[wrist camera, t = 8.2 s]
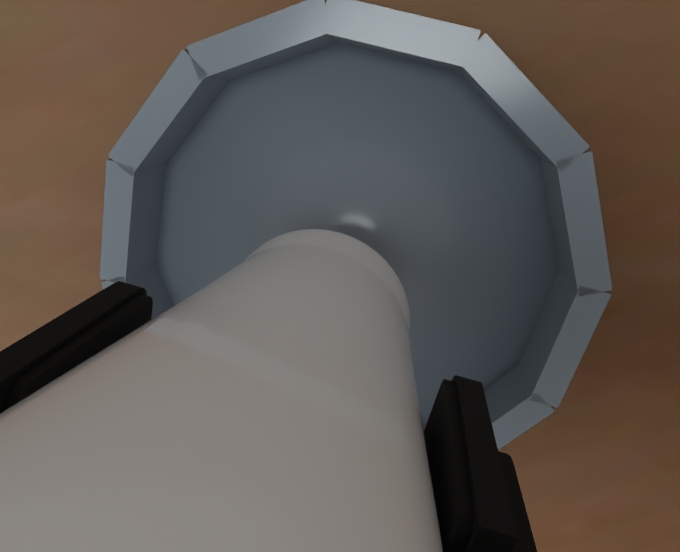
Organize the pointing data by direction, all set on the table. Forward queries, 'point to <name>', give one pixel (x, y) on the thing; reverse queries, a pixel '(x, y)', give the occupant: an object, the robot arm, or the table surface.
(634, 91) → the table surface
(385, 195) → the bowl
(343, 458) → the white cup
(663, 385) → the table surface
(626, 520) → the table surface
